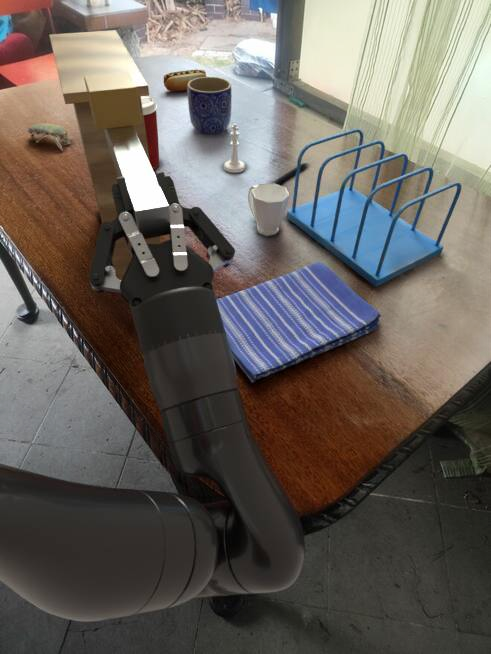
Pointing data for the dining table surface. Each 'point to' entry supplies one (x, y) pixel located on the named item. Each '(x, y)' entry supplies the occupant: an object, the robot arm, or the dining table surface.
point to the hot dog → (181, 79)
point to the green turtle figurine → (49, 132)
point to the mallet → (128, 148)
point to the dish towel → (293, 319)
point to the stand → (72, 65)
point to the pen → (289, 174)
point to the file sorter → (368, 220)
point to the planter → (209, 104)
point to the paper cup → (151, 129)
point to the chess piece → (234, 154)
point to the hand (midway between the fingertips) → (140, 179)
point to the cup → (268, 206)
